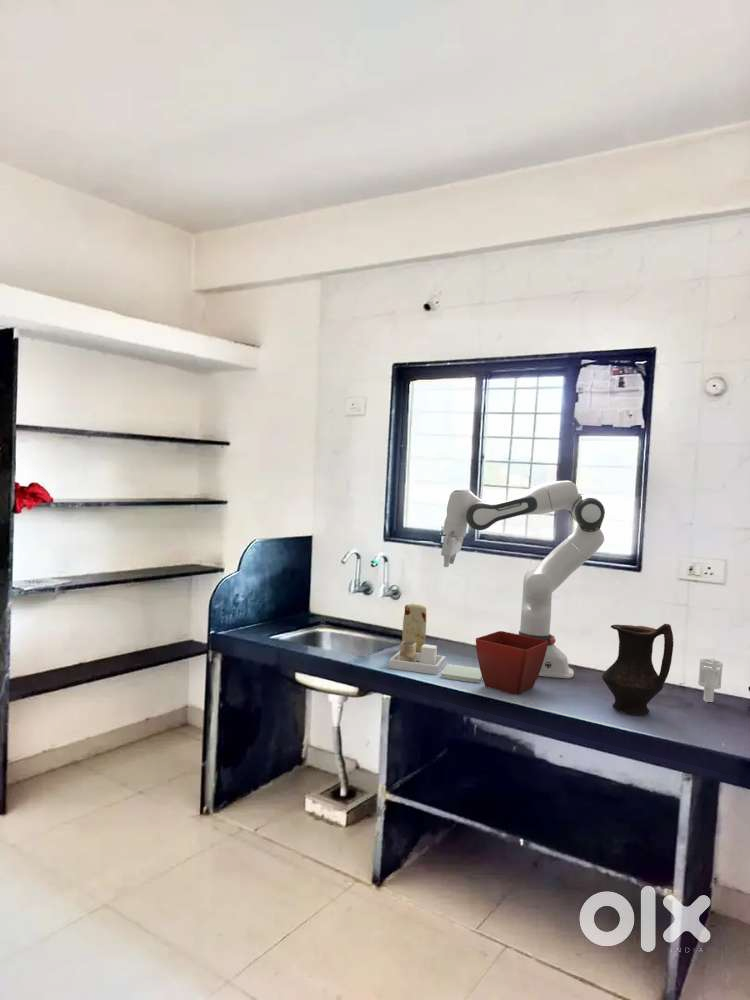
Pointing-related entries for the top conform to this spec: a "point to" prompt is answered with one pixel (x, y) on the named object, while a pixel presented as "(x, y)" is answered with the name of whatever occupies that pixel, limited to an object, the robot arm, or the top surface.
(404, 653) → the labelled oak box
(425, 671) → the shallow white tray
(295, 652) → the top surface
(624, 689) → the jug
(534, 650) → the plant pot
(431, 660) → the plain white box
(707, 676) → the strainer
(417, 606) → the food model
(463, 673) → the sage board
